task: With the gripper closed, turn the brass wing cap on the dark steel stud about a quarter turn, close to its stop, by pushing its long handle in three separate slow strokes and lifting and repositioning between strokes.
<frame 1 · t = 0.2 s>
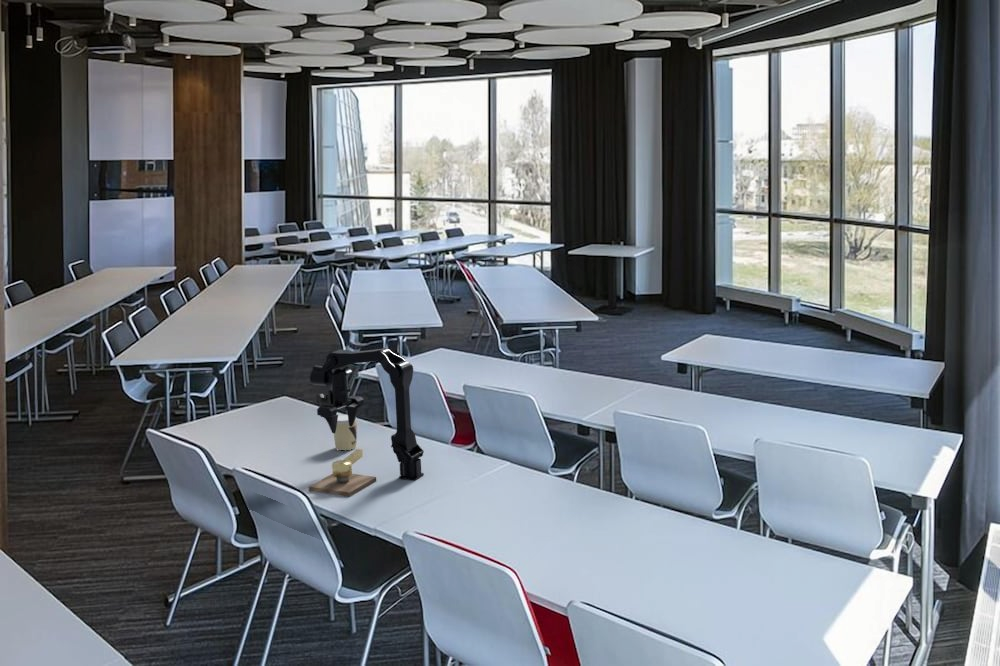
hand: (342, 429, 322), 14 cm above the table, tool pointing down, fingers open, 9 cm apart
wing cap: (349, 463, 311), point 6 cm above the table, hinge at 0.0°
coffee cup: (346, 448, 348), on the table
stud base: (343, 485, 307), on the table
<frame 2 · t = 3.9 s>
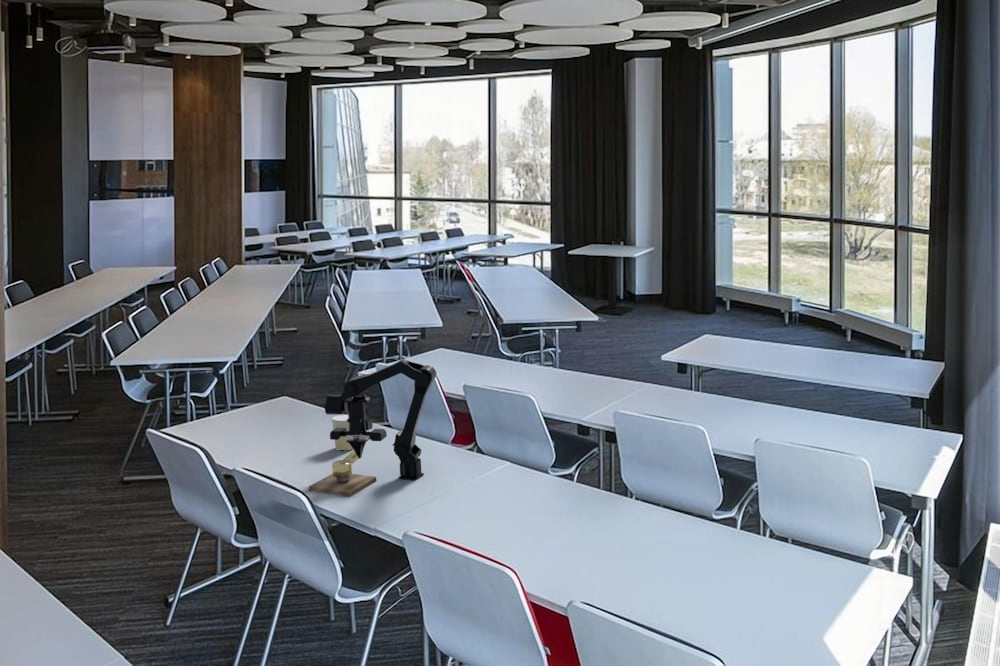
hand: (359, 458, 316), 6 cm above the table, tool pointing down, fingers closed
wing cap: (348, 463, 311), point 6 cm above the table, hinge at 2.3°, touching gripper
everything else where it was.
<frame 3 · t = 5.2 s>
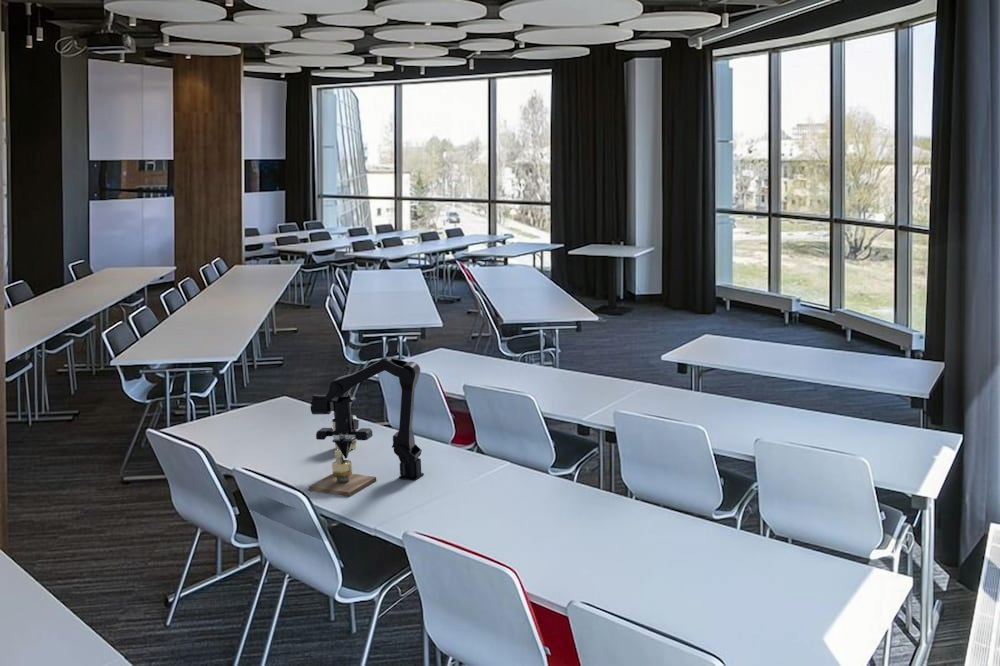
hand: (346, 458, 317), 6 cm above the table, tool pointing down, fingers closed
wing cap: (340, 463, 311), point 6 cm above the table, hinge at 29.9°, touching gripper
everything else where it was.
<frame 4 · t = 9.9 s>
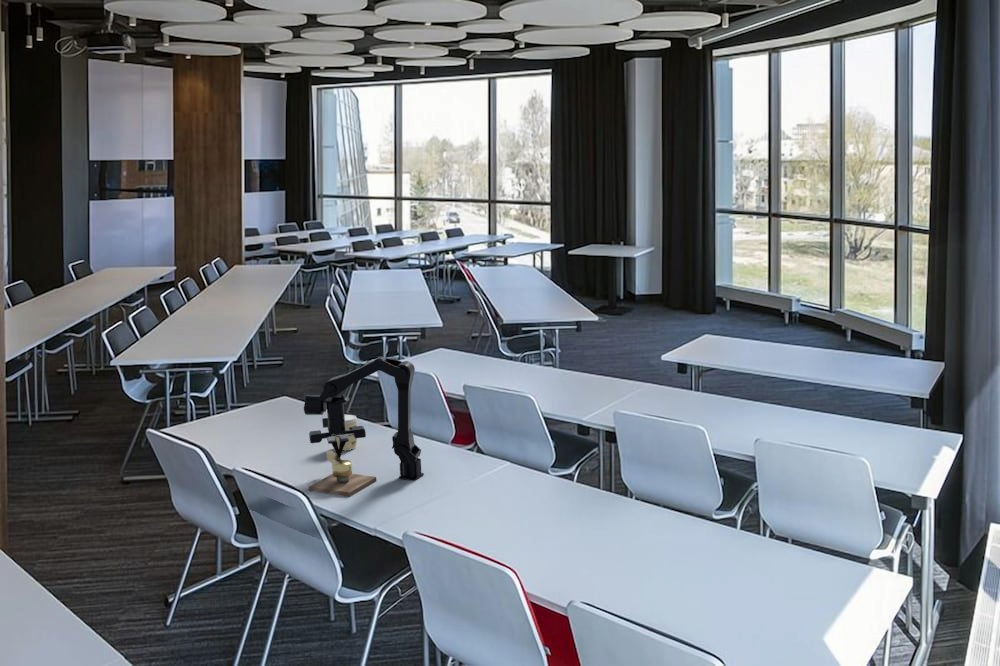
hand: (339, 458, 316), 6 cm above the table, tool pointing down, fingers closed
wing cap: (336, 463, 311), point 6 cm above the table, hinge at 41.0°, touching gripper
everything else where it was.
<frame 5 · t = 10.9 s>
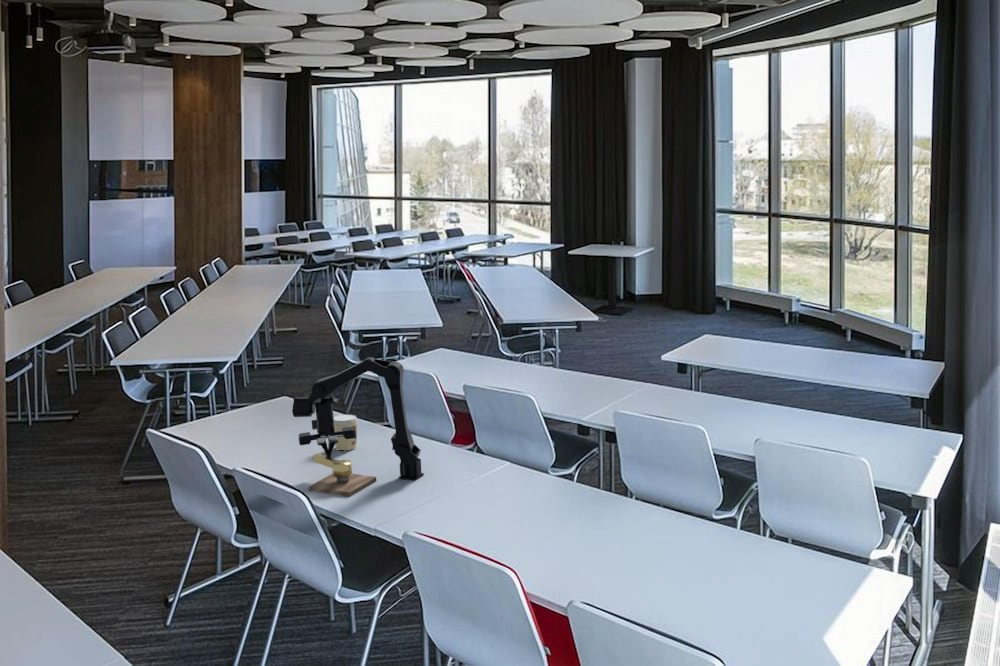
hand: (329, 460, 315), 6 cm above the table, tool pointing down, fingers closed
wing cap: (331, 465, 310), point 6 cm above the table, hinge at 60.2°, touching gripper
everything else where it was.
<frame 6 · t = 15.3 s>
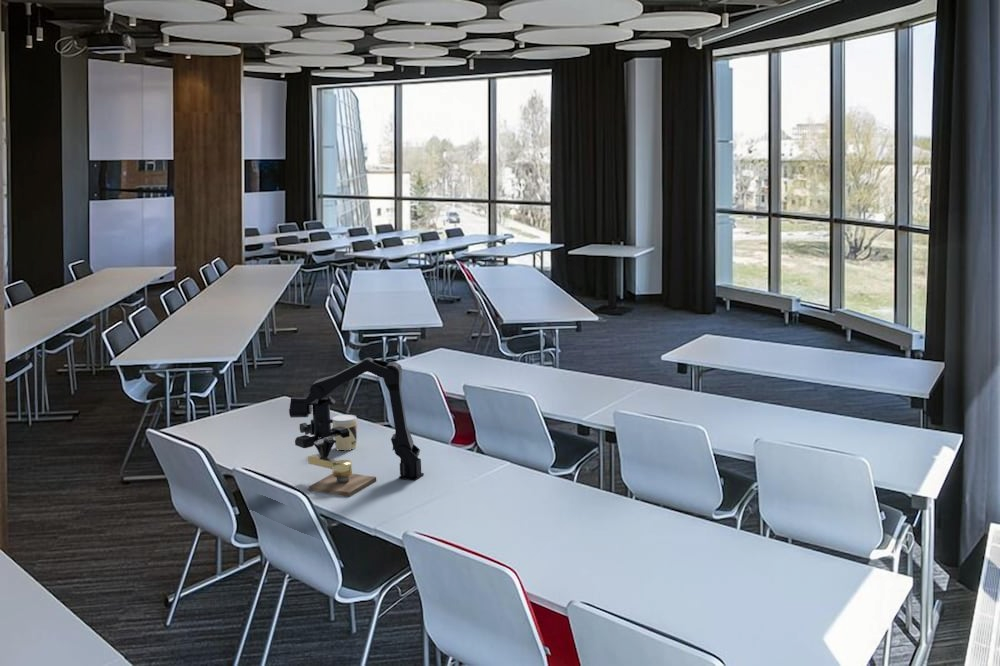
hand: (324, 461, 314), 6 cm above the table, tool pointing down, fingers closed
wing cap: (329, 465, 309), point 6 cm above the table, hinge at 69.2°, touching gripper
everything else where it was.
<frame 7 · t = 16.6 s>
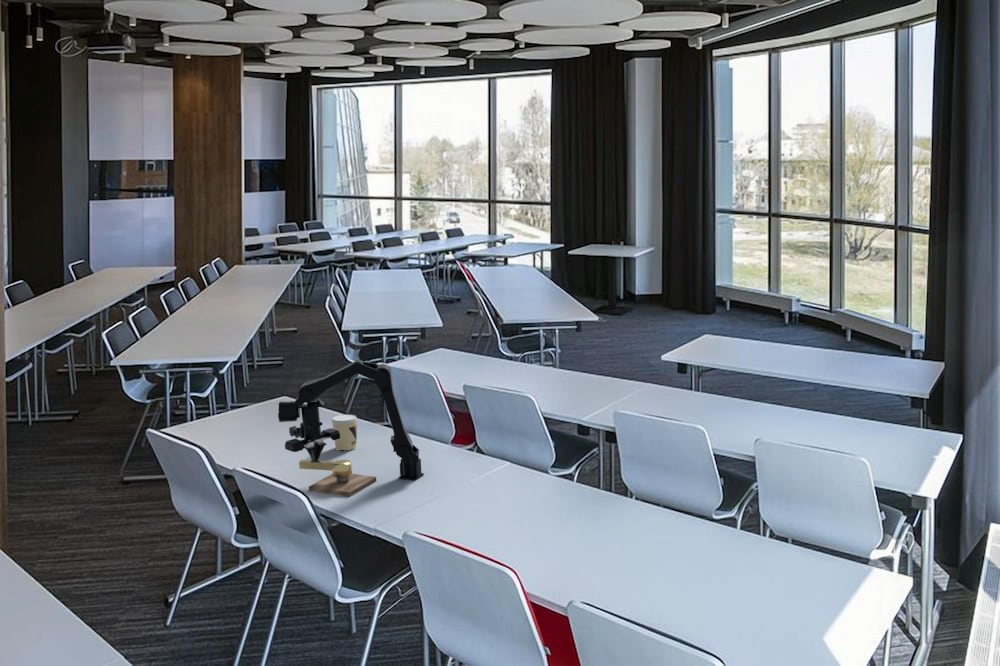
hand: (315, 464, 311), 6 cm above the table, tool pointing down, fingers closed
wing cap: (325, 467, 307), point 6 cm above the table, hinge at 90.3°, touching gripper
everything else where it was.
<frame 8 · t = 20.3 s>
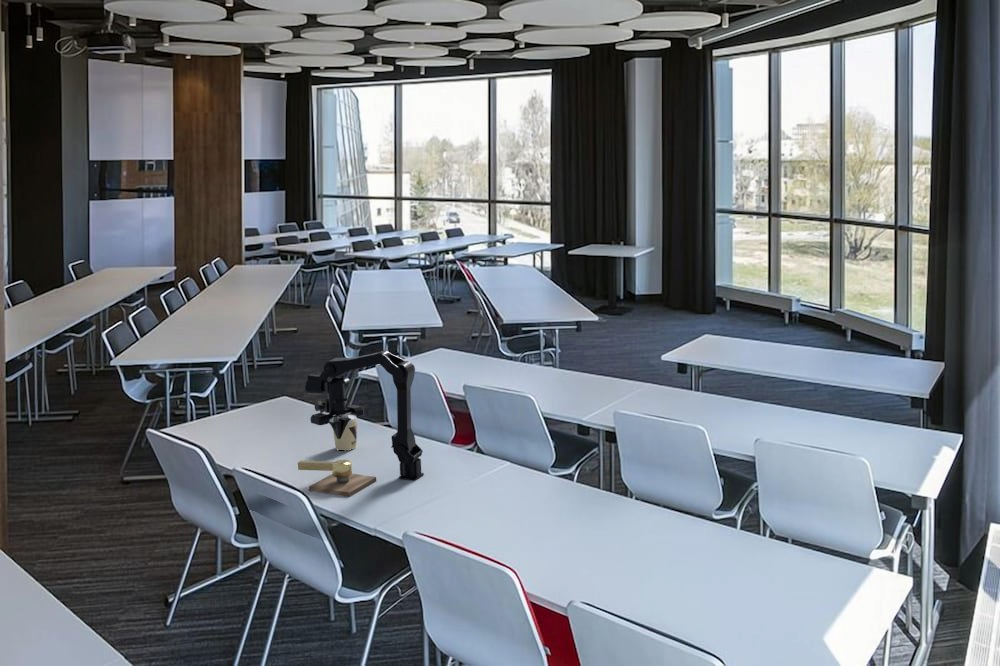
hand: (339, 438, 319), 12 cm above the table, tool pointing down, fingers closed
wing cap: (325, 468, 307), point 6 cm above the table, hinge at 95.2°
everything else where it was.
at the end: wing cap at +95° (first picture: +0°); coffee cup moved 0.2 cm from its start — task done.
